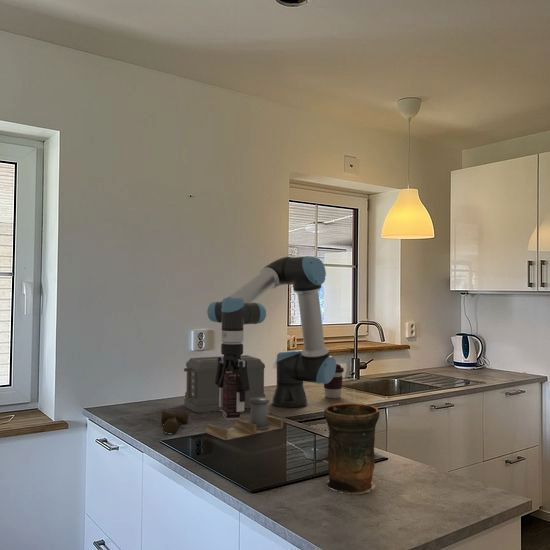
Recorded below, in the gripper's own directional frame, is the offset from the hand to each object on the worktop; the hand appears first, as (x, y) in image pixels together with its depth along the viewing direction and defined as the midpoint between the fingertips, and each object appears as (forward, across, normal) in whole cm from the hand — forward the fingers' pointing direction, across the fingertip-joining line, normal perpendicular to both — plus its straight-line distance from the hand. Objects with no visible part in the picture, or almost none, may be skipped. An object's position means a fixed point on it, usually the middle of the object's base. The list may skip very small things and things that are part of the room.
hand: (231, 408), depth 191 cm
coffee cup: (+9, -26, +77) cm, 81 cm away
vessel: (+10, +58, -3) cm, 58 cm away
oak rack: (+9, 0, +6) cm, 11 cm away
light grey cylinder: (+8, 0, +12) cm, 15 cm away
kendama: (+10, -23, -9) cm, 27 cm away
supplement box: (+3, 0, 0) cm, 3 cm away
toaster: (+10, -41, +26) cm, 50 cm away
